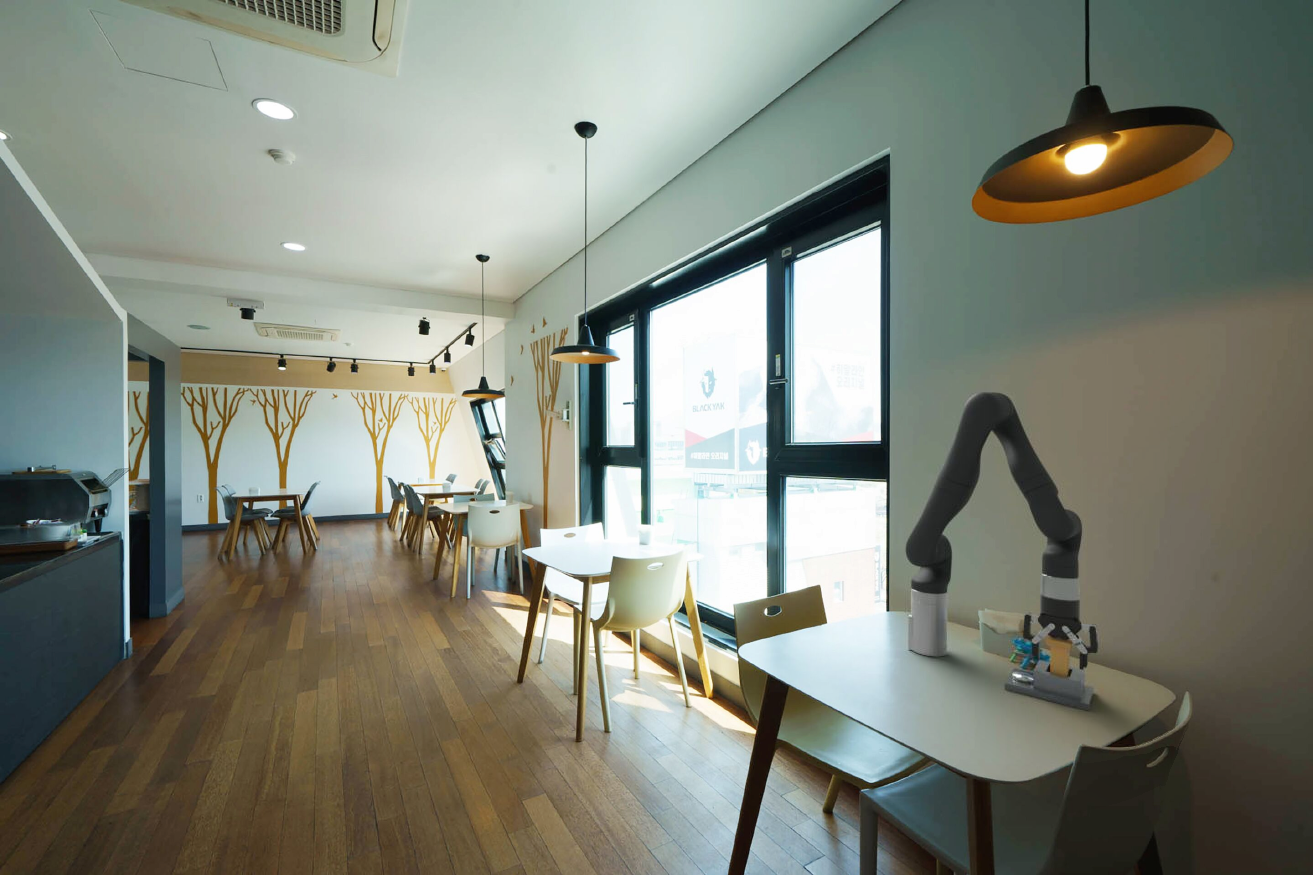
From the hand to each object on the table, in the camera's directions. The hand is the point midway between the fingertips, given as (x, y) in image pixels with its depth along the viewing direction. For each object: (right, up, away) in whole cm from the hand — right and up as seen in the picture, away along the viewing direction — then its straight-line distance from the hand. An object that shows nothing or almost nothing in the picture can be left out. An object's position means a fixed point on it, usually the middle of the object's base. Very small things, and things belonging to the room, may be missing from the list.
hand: (1059, 663), depth 133 cm
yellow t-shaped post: (0, -6, 0) cm, 6 cm away
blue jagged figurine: (+4, -8, +17) cm, 19 cm away
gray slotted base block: (-2, -7, +1) cm, 7 cm away
